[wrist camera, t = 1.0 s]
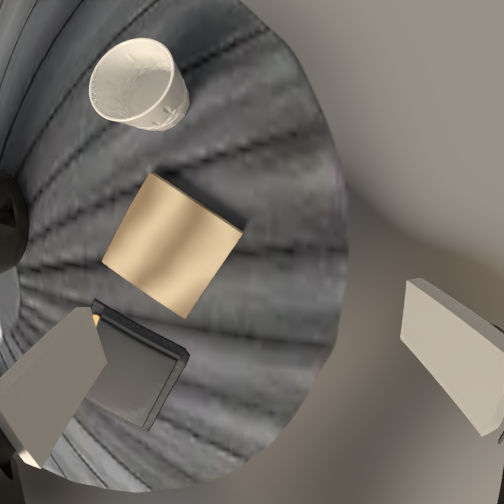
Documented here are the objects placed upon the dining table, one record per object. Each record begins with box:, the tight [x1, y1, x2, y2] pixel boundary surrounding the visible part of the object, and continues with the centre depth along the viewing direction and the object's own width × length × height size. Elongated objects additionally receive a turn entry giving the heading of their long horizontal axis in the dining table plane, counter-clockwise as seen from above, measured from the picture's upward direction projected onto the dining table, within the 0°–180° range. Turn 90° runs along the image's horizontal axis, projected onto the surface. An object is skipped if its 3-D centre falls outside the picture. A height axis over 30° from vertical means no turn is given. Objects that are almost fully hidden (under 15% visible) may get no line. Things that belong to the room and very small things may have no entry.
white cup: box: [89, 38, 190, 131], centre depth 25 cm, size 8×8×10 cm
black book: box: [84, 299, 190, 432], centre depth 38 cm, size 20×2×15 cm
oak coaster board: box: [102, 172, 243, 318], centre depth 33 cm, size 12×12×2 cm
